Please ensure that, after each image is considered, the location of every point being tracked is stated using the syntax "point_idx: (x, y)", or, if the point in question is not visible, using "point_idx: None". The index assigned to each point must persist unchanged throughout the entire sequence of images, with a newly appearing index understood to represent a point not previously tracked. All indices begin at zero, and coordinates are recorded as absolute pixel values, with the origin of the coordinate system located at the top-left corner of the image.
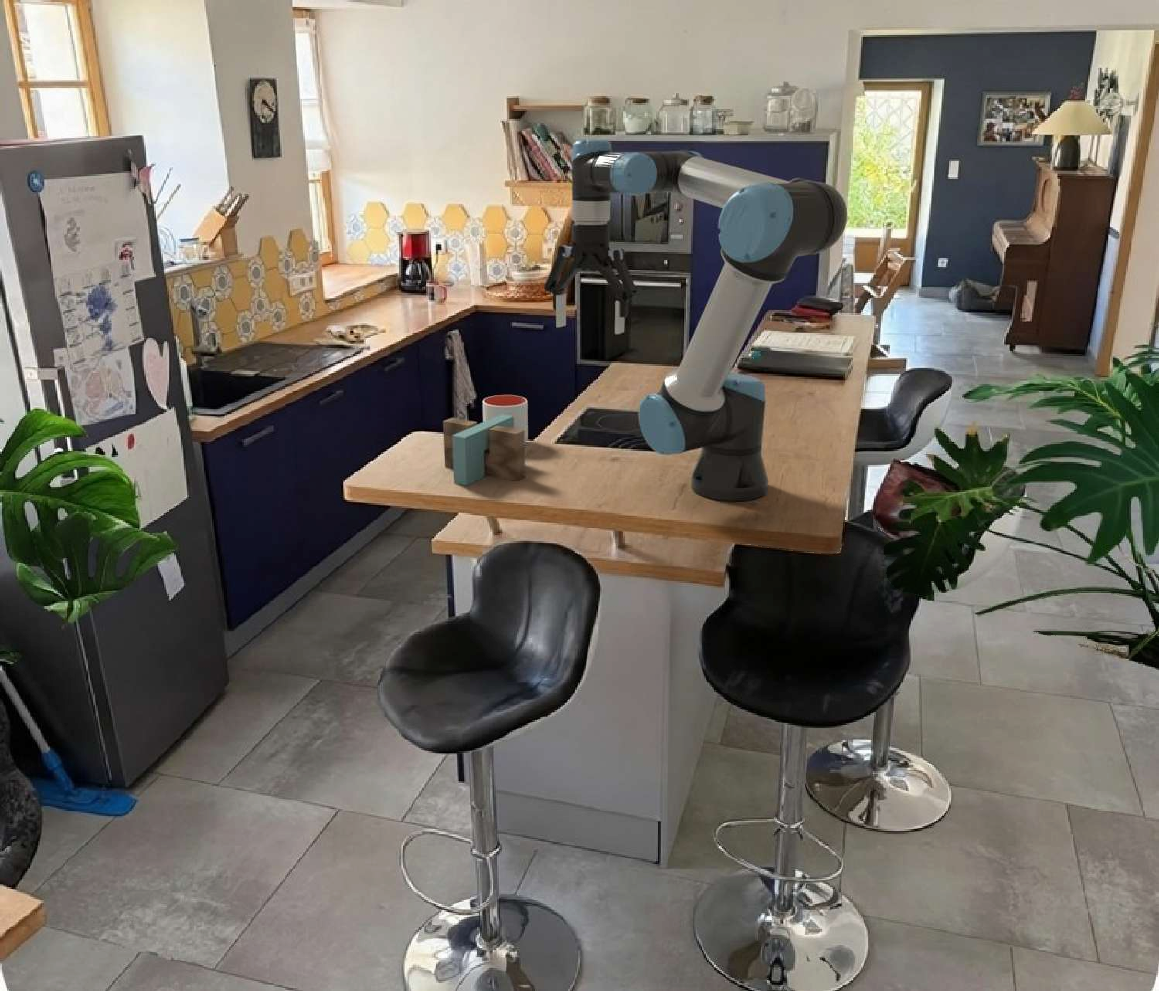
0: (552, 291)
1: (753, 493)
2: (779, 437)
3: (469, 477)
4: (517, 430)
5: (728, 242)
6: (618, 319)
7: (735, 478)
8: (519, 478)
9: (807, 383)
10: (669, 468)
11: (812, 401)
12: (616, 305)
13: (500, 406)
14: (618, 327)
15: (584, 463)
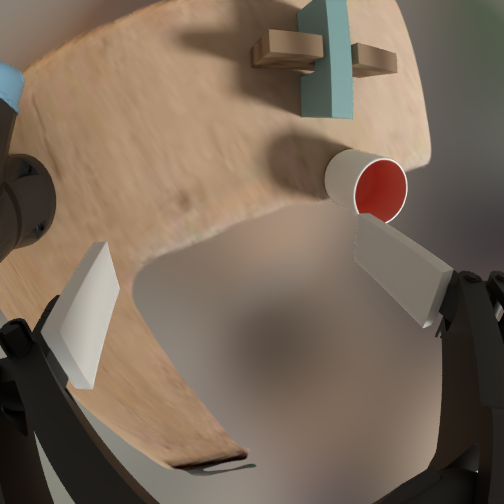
0: (477, 275)
1: None
2: (97, 368)
3: (300, 16)
4: (279, 46)
5: None
6: (74, 274)
7: None
8: (251, 54)
9: (186, 457)
10: (105, 215)
11: (152, 438)
12: (60, 315)
13: (375, 160)
14: (85, 257)
15: (210, 160)
